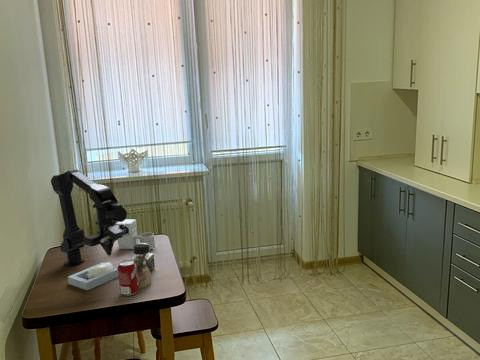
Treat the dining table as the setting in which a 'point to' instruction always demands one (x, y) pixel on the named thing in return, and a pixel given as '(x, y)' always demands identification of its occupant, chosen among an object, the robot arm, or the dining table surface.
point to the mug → (146, 239)
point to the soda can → (128, 277)
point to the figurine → (142, 271)
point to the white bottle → (98, 270)
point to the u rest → (93, 282)
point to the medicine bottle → (142, 249)
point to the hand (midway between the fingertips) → (109, 255)
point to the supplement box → (128, 239)
